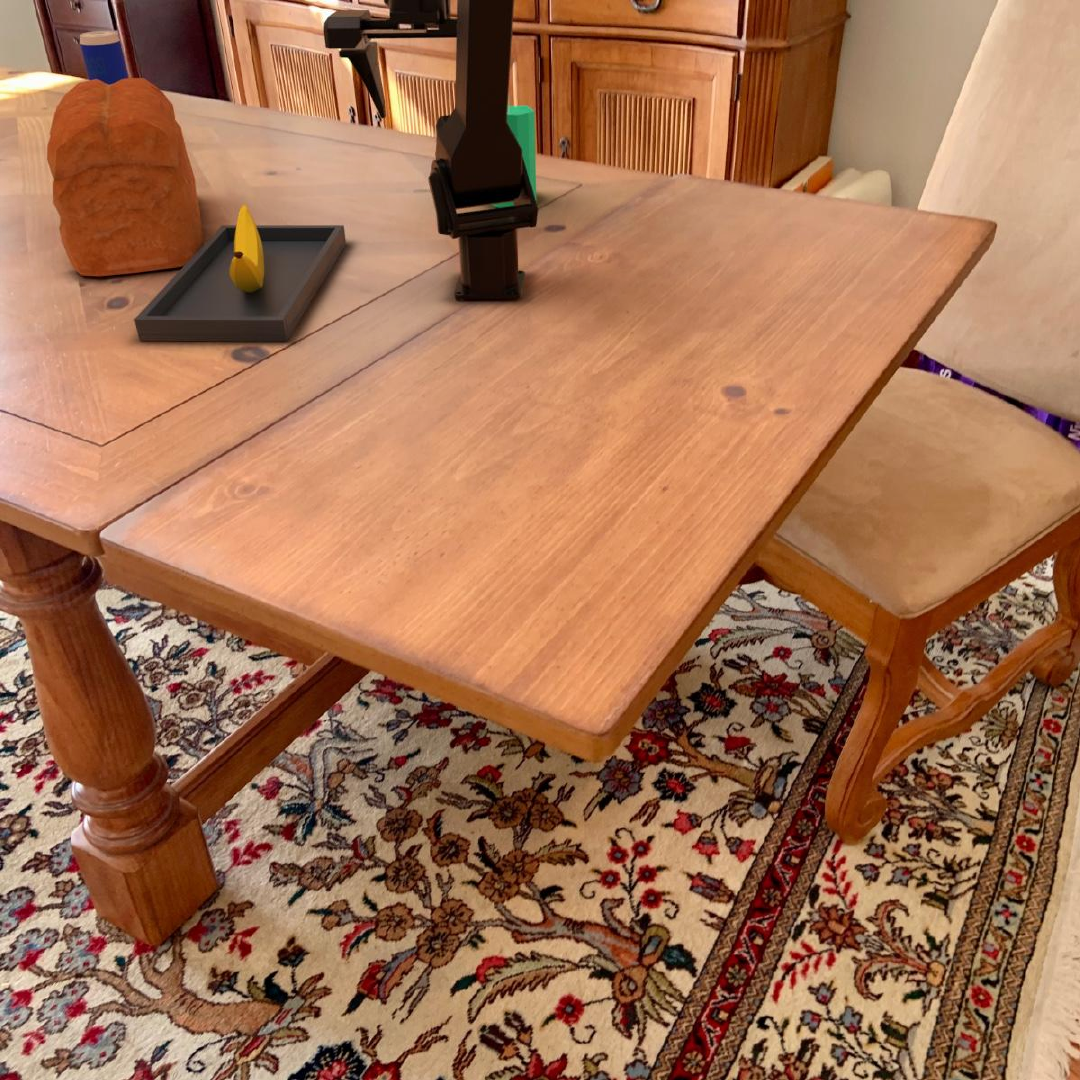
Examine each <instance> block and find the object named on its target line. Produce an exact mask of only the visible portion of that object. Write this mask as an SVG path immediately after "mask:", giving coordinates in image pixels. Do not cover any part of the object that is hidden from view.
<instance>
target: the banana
mask: <svg viewBox="0 0 1080 1080" xmlns="http://www.w3.org/2000/svg"><path fill="white" fill-rule="evenodd" d="M256 225H257V224H256V223H255V220H254V217H253V216H252V214H251V211H250V210H249V207H248V205H247V204H242V205H241V208H240V209H239V212H238V217H237V221H236V231H235V239H234V258H233V260H232V263H231V266H230V271H229V274H230V277H231V279H232V281H233V282H234V284H235V285H236V287H237V289H239V290H241V291H245V292H249V293H252V292H254V291H256V290H258V289H260V288H262V285H263V278H264V258H263V249H262V244H261V239H260V236H259V233H258V230H257V227H256Z"/></svg>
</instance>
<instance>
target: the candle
mask: <svg viewBox="0 0 1080 1080" xmlns="http://www.w3.org/2000/svg"><path fill="white" fill-rule="evenodd" d="M510 102H511V101H510V95H509V94H508V108H507V123H508V125H509V127H510V129H511V130H512V132H513V134H514V136H515V138H516V139H517V141H518V143H519V145H520V147H521V148H522V157H523V159H524V163H525V166H526V169H527V173H528V176H529V180H530V183H531V186H532V190H533V193H534V196H535V200H536V201H537V167H536V166H537V164H536V163H537V162H536V161H537V160H536V116H535V115H536V112H535V110H534V109H532V108H531V107H530V106H529V105H527V104H523V105H510ZM491 206H492V207H494V208H501V207H508V206H514V204H513V201H512V202H507V203H500V204H493V205H491Z"/></svg>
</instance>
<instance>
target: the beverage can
mask: <svg viewBox="0 0 1080 1080" xmlns="http://www.w3.org/2000/svg"><path fill="white" fill-rule="evenodd" d="M79 45H80V49H81V53H82V56H83V57H82V58H83V61H84V64H85V69H86V73H87V76H88V81H90V80H94V79H98V80H100V81H102V82H104V83H106V84H108V85H111V84H113V83H116V82H118V81H119V80H122V79H126V78H129V74H128V69H127V66H126V61H125V57H124V53H123V49H122V45H121V40H120V38H119V36H118V34H117V32H116V31H115V30H114V31H113V30H96V31H88V32H83V33H81V34H80V35H79Z"/></svg>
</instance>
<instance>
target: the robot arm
mask: <svg viewBox="0 0 1080 1080" xmlns="http://www.w3.org/2000/svg"><path fill="white" fill-rule="evenodd" d="M383 3H384V5H386V7H387V8H388V10H389V12H388V13H389V18H388V17H387V18H372V15H371V12H370V9H344V10H343V9H337V10H335V11H334V12H333V13H331V14H330V15H329V16H327V17H326V19H325V20H324V22H323V29H322V32H323V38H324V39H323V41H324V47H325V49H329V50H331V49H334V50H335V49H337V50H338V49H340V50H338V55H339V56H338V57H339V58H342V59H344V58H345V59H348V60H349V62H350V63H351V65H352V66H353V68H354V70H355V71H356V73H357V75H358V76H359V77H360V79H361V80H362V82H363V84H364V86H365V88H366V90H367V92H368V94H369V96H370V98H371V101H372V103H373V105H374V106H375V109H376V110H377V112H378V115H379V117H380V119H386V117H387V104H386V103H387V102H386V98H385V97H386V96H385V92H384V87H383V81H382V76H381V69H380V65H379V57H378V42H377V41H372V39H374V40H375V39H376V40H377V39H378V40H379V39H443V38H444V39H451V38H452V39H453V38H454V39H456V45H455V46H456V49H455V50H456V51H455V53H456V54H455V93H454V94H455V97H454V99H455V101H454V109H453V110H452V111H451V113H450V114H448V115H447V114H446V115H440V116H438V119H437V122H436V124H435V138H436V139H435V140H436V142H435V151H434V156H435V159H433V160H432V161H431V164H430V165H431V166H430V173H429V176H428V185H429V189H430V193H431V198H432V201H433V206H434V210H435V215H436V216H435V217H436V224H437V233H438V234H439V235H442V236H443V235H444V236H449V238H451V239H452V240H455V239H457V241H458V253H459V254H458V255H459V270H460V272H459V273H460V274H459V277H458V280H457V283H456V286H455V289H454V292H453V297H454V299H455V300H520V299H521V298H522V294H523V288H524V283H525V278H526V272H525V271H524V270H519V246H518V244H519V242H518V229H525V228H536V227H537V223H538V215H539V207H538V203H537V199H536V200H535V196H534V193H533V190H532V186H531V183H530V180H529V176H528V173H527V169H526V166H525V163H524V159H523V157H522V148H521V147H520V145H519V143H518V141H517V139H516V138H515V136H514V134H513V132H512V130H511V129H510V127H509V125H508V123H507V108H508V95H509V92H510V91H509V90H510V74H511V73H510V72H511V57H512V41H513V25H514V10H515V0H457V1H456V9H457V10H456V17H451V16H452V15H451V14H452V12H451V0H383ZM409 24H410V27H401V25H409ZM512 201H513V204H514V206H508V207H501V208H499V207H494V208H487V209H480V210H474V211H465V212H459V213H458V212H457V210H462V209H470V208H476V207H477V208H478V207H485V206H492V205H493V204H500V203H507V202H512Z"/></svg>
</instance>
